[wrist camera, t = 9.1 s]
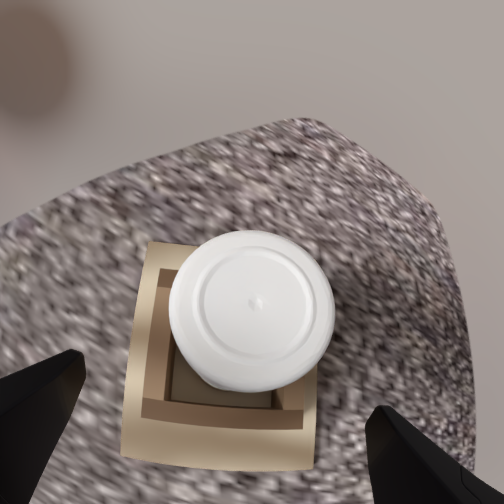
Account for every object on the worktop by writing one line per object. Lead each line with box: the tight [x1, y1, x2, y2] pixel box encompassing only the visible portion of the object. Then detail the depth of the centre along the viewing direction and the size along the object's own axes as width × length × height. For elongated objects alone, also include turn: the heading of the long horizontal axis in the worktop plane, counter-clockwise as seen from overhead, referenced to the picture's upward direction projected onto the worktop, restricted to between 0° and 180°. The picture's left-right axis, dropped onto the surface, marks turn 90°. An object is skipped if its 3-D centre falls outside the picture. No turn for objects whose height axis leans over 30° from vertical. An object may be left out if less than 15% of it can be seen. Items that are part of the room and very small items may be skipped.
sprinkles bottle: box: [169, 230, 335, 393], centre depth 14 cm, size 5×5×14 cm
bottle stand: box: [120, 241, 317, 471], centre depth 19 cm, size 16×13×4 cm
